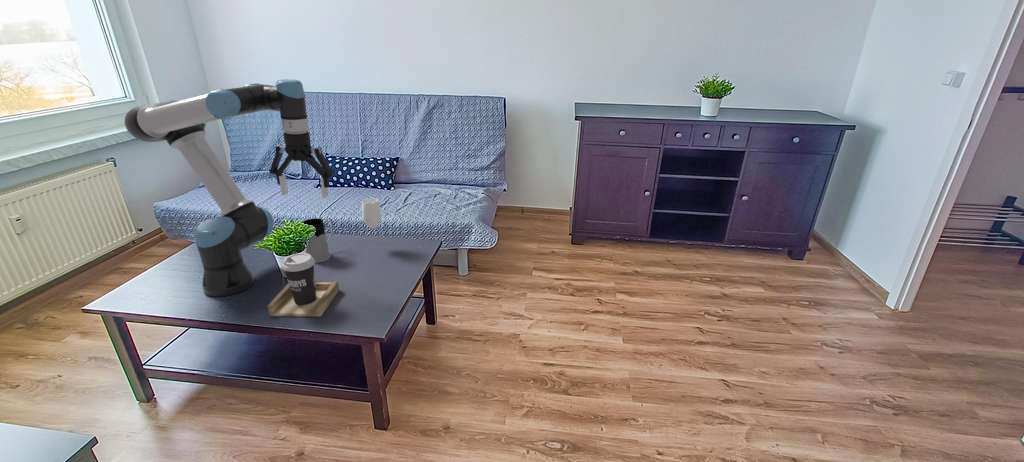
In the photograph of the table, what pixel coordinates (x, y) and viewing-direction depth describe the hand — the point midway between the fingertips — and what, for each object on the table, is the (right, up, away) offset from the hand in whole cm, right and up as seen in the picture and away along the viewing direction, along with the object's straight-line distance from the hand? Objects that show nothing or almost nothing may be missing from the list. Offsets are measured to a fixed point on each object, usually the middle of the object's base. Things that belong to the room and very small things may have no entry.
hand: (305, 195), depth 154 cm
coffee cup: (+2, -34, -4) cm, 35 cm away
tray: (+2, -35, -3) cm, 35 cm away
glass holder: (-6, -21, +29) cm, 37 cm away
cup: (+13, -19, +34) cm, 42 cm away
